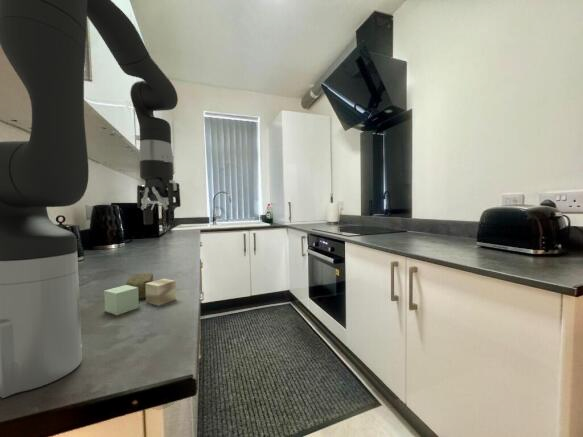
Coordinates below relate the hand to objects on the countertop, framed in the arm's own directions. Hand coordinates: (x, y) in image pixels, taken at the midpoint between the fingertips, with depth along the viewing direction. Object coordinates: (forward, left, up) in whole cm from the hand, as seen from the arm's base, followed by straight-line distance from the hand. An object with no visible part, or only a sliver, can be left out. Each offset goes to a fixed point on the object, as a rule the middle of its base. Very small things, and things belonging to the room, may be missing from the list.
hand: (158, 224), depth 66 cm
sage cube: (-8, +3, -20) cm, 22 cm away
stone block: (+1, +11, -20) cm, 23 cm away
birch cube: (0, 0, -20) cm, 20 cm away
